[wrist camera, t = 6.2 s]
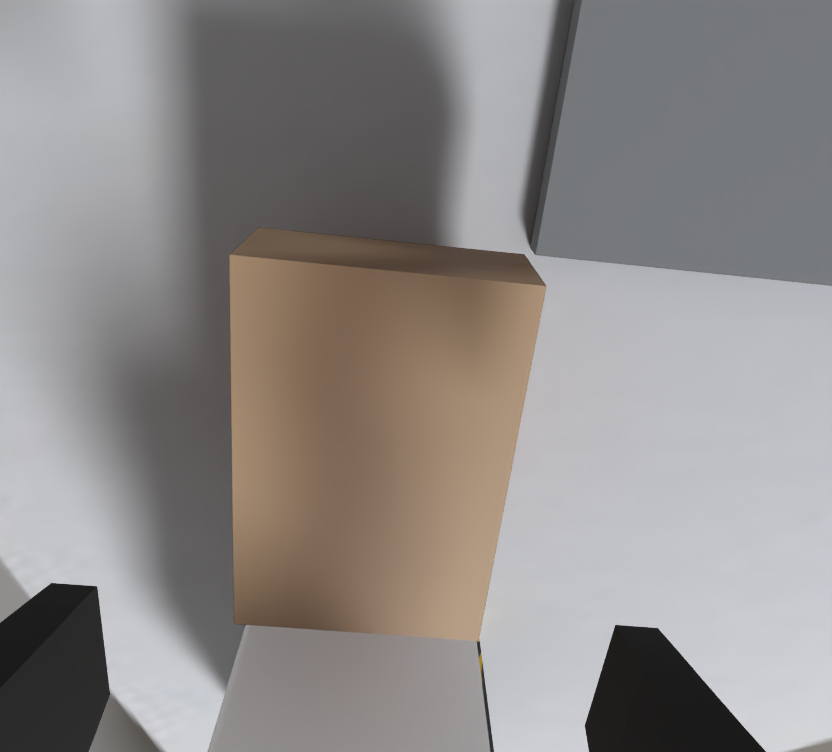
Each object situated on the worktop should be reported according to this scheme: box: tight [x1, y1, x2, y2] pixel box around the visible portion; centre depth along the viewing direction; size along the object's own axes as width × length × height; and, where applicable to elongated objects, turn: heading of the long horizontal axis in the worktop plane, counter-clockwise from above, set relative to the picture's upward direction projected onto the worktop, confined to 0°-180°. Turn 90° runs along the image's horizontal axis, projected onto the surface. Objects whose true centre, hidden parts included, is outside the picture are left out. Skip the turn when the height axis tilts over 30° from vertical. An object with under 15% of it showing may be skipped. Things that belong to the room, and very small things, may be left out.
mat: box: [530, 0, 832, 286], centre depth 15 cm, size 10×10×1 cm
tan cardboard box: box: [229, 227, 546, 641], centre depth 14 cm, size 6×8×2 cm, turn 174°
